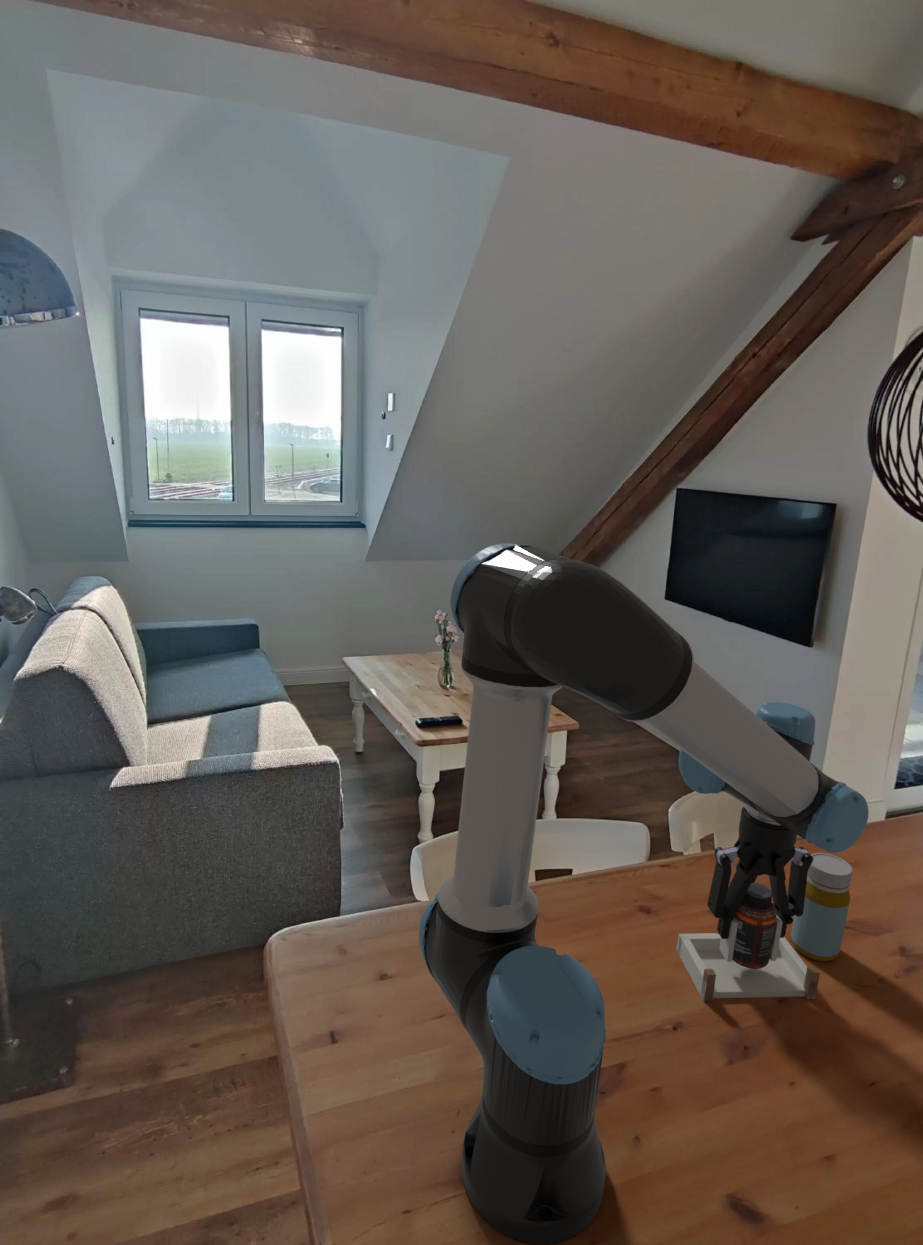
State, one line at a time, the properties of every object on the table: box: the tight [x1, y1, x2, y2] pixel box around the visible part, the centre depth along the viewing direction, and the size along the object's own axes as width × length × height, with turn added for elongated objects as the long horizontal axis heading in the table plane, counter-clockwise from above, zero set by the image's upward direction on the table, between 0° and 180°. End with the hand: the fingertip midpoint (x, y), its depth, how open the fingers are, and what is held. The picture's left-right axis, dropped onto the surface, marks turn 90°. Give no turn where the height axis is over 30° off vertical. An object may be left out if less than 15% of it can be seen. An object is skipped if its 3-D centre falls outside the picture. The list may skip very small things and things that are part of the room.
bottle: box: [790, 852, 853, 962], centre depth 114 cm, size 7×7×15 cm
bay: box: [676, 932, 821, 1003], centre depth 109 cm, size 11×16×4 cm, turn 95°
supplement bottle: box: [732, 881, 777, 969], centre depth 107 cm, size 6×6×11 cm
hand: (747, 954), depth 108 cm, fingers closed on supplement bottle, 6 cm apart
